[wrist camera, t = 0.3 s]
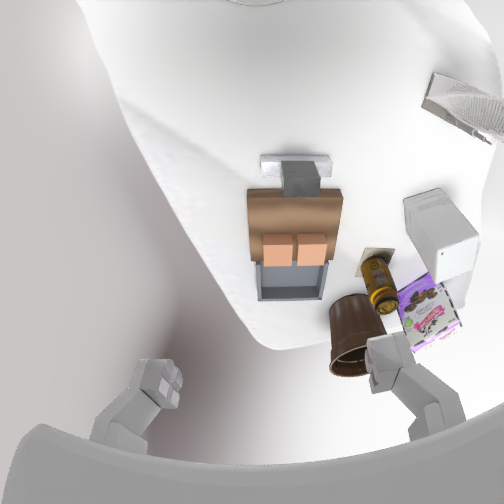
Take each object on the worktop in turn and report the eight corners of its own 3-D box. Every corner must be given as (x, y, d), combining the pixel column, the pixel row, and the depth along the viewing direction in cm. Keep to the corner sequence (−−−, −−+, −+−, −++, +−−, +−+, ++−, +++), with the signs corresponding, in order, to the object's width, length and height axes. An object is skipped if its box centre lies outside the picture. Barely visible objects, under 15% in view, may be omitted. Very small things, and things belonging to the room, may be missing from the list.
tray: (256, 251, 57) (256, 264, 54) (325, 249, 56) (328, 263, 53) (258, 287, 64) (257, 301, 61) (319, 286, 63) (321, 299, 60)
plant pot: (344, 280, 62) (358, 340, 50) (393, 294, 65) (410, 348, 53) (310, 319, 72) (316, 374, 60) (357, 329, 76) (367, 378, 64)
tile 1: (297, 233, 50) (298, 244, 48) (324, 233, 50) (327, 244, 47) (295, 254, 53) (296, 265, 51) (321, 254, 53) (323, 265, 51)
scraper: (261, 153, 43) (261, 178, 37) (328, 154, 43) (341, 178, 36) (261, 170, 45) (261, 197, 39) (327, 170, 45) (339, 197, 38)
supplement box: (405, 233, 53) (433, 286, 41) (402, 198, 47) (436, 250, 36) (440, 221, 50) (473, 271, 39) (440, 186, 45) (480, 234, 33)
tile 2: (263, 234, 50) (263, 245, 48) (291, 233, 50) (292, 244, 48) (263, 255, 54) (263, 266, 51) (290, 254, 53) (291, 265, 51)
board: (247, 189, 48) (246, 198, 46) (339, 189, 47) (343, 197, 45) (251, 251, 57) (251, 261, 55) (330, 249, 56) (332, 259, 54)
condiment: (355, 275, 61) (367, 318, 52) (364, 247, 56) (381, 291, 47) (382, 275, 61) (397, 317, 52) (394, 248, 55) (413, 290, 46)
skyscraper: (414, 103, 35) (537, 190, 14) (428, 63, 30) (565, 119, 9) (449, 123, 36) (560, 214, 15) (463, 85, 31) (586, 156, 10)
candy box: (434, 266, 59) (460, 319, 46) (440, 277, 61) (464, 328, 49) (390, 294, 66) (408, 349, 53) (399, 304, 68) (416, 356, 56)
